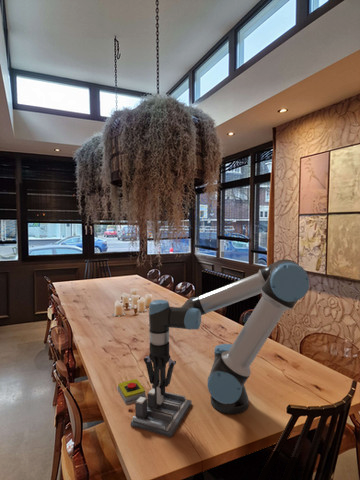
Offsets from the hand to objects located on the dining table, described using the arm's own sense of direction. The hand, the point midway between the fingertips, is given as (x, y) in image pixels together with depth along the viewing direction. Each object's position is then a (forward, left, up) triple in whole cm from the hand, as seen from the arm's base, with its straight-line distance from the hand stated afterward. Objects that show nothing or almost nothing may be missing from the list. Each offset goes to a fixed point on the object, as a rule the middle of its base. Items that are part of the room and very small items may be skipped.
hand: (160, 402), depth 110 cm
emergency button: (+18, -8, -5) cm, 21 cm away
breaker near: (+4, +6, -3) cm, 8 cm away
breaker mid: (+3, 0, -3) cm, 4 cm away
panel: (-1, 0, -5) cm, 5 cm away
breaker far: (+4, -7, -3) cm, 8 cm away
